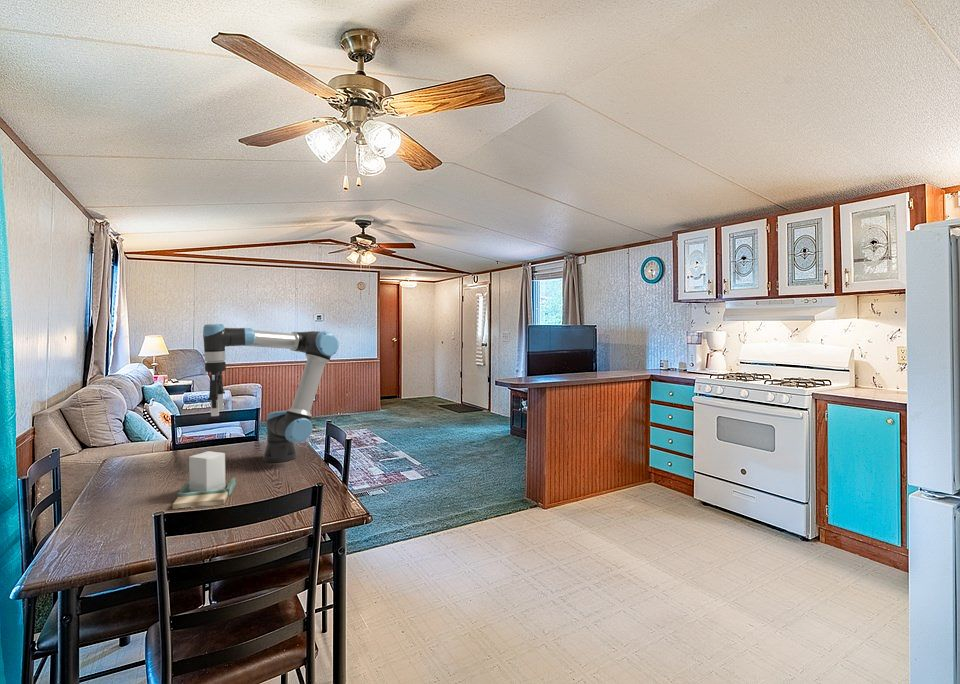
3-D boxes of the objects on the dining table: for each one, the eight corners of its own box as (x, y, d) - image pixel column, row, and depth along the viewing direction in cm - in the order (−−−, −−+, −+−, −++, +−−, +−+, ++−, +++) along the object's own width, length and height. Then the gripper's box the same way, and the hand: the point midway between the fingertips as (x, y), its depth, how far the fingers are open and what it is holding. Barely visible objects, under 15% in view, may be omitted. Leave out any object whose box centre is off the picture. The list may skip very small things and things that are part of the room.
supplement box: (226, 490, 184) (226, 452, 184) (206, 498, 176) (206, 458, 175) (209, 487, 187) (208, 450, 187) (188, 495, 179) (188, 456, 178)
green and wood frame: (235, 484, 191) (235, 477, 191) (225, 504, 170) (225, 496, 170) (187, 489, 185) (187, 481, 185) (170, 509, 164) (170, 501, 164)
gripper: (209, 359, 202) (212, 407, 204) (199, 365, 179) (201, 419, 180) (229, 358, 205) (231, 406, 206) (221, 364, 182) (223, 417, 183)
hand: (217, 412), depth 193 cm, fingers open, 13 cm apart
